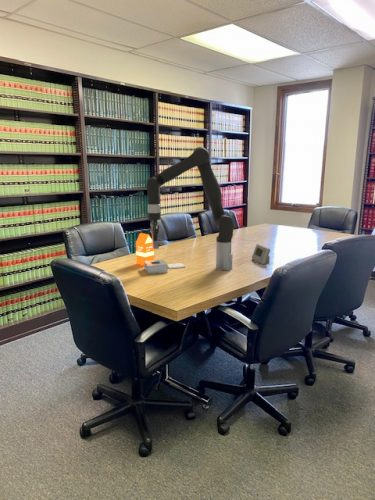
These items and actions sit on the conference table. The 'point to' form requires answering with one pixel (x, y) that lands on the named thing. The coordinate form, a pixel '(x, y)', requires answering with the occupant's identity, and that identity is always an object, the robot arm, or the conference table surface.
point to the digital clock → (261, 254)
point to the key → (155, 243)
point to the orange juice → (144, 249)
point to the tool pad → (176, 266)
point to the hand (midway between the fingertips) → (154, 240)
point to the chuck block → (155, 266)
